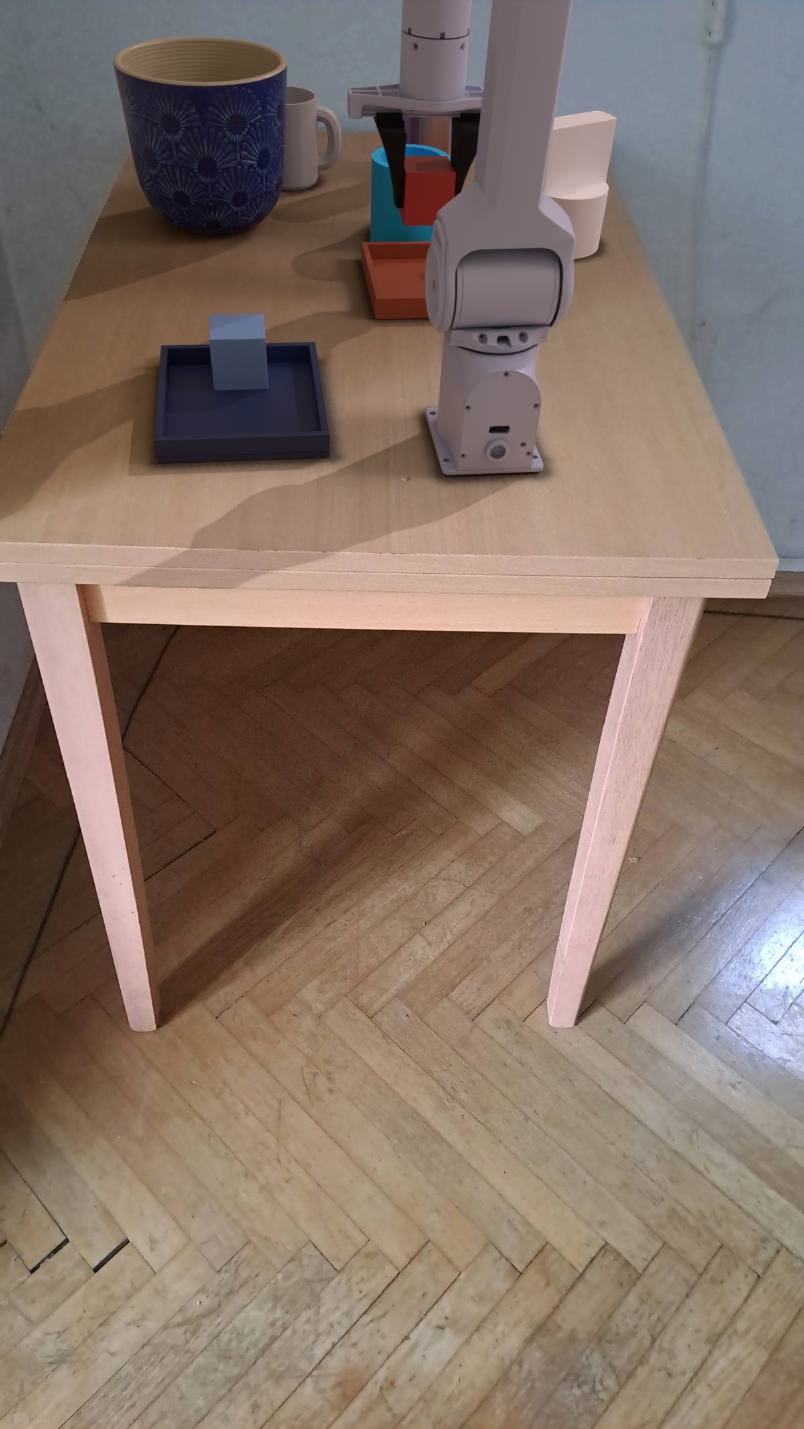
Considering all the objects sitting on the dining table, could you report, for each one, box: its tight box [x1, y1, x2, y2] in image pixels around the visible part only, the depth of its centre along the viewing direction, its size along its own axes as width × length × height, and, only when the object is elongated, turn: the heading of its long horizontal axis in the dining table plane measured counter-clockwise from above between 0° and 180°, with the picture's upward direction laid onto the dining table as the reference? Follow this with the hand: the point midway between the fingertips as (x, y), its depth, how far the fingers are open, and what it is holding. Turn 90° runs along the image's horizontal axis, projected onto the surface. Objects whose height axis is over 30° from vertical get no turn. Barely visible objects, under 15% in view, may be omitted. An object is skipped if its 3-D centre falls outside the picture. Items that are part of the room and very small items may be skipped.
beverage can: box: [402, 117, 451, 156], centre depth 115 cm, size 6×6×15 cm
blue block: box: [208, 313, 268, 391], centre depth 83 cm, size 4×4×4 cm
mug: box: [369, 144, 451, 242], centre depth 106 cm, size 12×8×8 cm
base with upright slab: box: [543, 109, 618, 260], centre depth 104 cm, size 9×9×12 cm
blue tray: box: [153, 341, 331, 464], centre depth 81 cm, size 15×13×2 cm
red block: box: [398, 156, 456, 226], centre depth 91 cm, size 4×4×4 cm
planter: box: [112, 35, 288, 236], centre depth 103 cm, size 17×17×15 cm
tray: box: [360, 241, 431, 320], centre depth 98 cm, size 13×12×2 cm
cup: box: [281, 85, 343, 191], centre depth 115 cm, size 7×10×9 cm
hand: (425, 204), depth 92 cm, fingers closed on red block, 4 cm apart
